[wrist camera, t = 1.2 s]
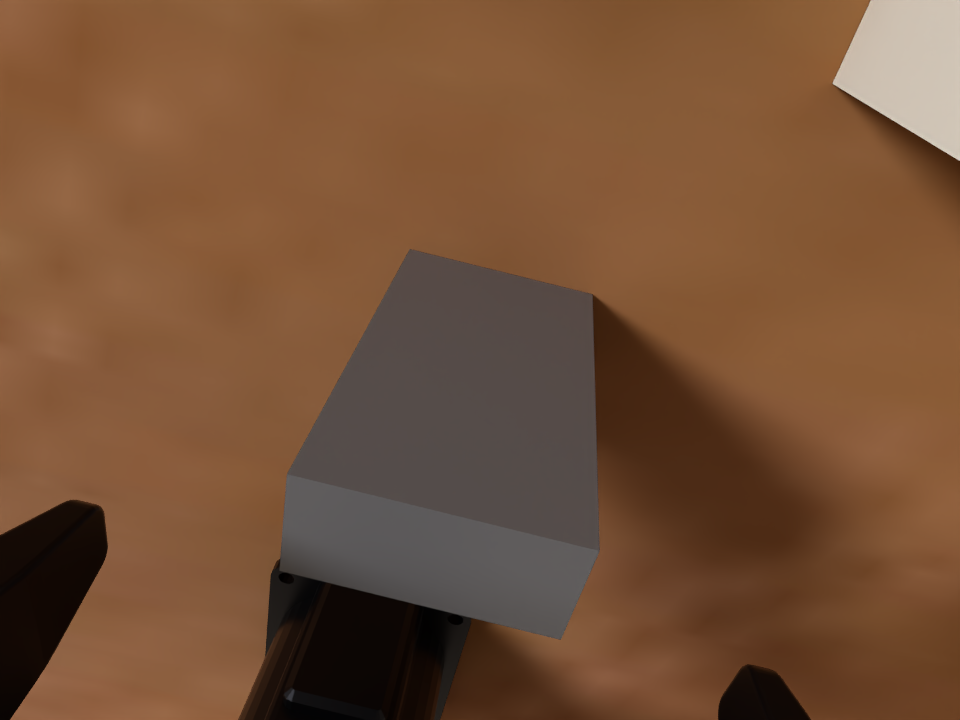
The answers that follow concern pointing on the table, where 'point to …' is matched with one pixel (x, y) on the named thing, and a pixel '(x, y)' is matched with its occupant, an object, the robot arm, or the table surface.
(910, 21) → the domino
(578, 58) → the table surface
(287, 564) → the domino
